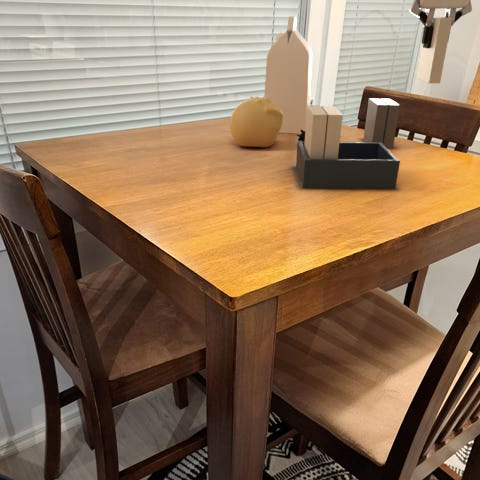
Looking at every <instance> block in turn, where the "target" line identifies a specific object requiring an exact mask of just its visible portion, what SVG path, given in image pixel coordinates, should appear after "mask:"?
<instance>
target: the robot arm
mask: <svg viewBox="0 0 480 480" xmlns="http://www.w3.org/2000/svg"><path fill="white" fill-rule="evenodd" d="M422 9H424V10H422ZM436 9H437V10H438V9H445V12H444V18H452V22H451V28H450V31H451V29H452V27H453V26H454V25H455V23H457V21H459V19H461V18H462V17H463V16H466V15H467V14H469V13H472V11H473V7H472V1H471V0H413V2H412V4H411V5H410V8H409V11H408V12H409V13H410V14H412V15H413V16H415V17H417V18H418V19H419V21H420V22H421V23H422V26H423V29H422V30H423V31H422V37H421V45H422V44H423V48H430V47H431V42H432V36H433V30H434V27H432V25H433V23H432V22H433V17H435V12H436ZM457 9H458V10H457ZM450 35H451V32H450V33H449V36H450ZM449 40H450V37H449V38H448V41H449Z"/></svg>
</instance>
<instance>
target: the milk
mask: <svg viewBox="0 0 480 480" xmlns="http://www.w3.org/2000/svg"><path fill="white" fill-rule="evenodd" d="M297 23H298V16H288V21H287V27H286V31H285V32H283V31H280V32H279V33H278V34H277V35H276V36H275V38H274V39H273V42H274V44H272V46H271V47H270V48H269V49H268V51H267V53H266V66H265V67H266V68H265V79H264V80H265V81H264V96H263V97H265V98H268V99H270V100H271V102H272V103H273V104H274V105H276V107H278V108H279V109H280V110H281V111H282V113H283V119H282V126H281V129H280V130H279V133H278V134H294V135H295V134H296V135H300V134H302V133H301V132H300V131H301V130H303V131H306V117H307V106H311V101H312V75H313V48H312V47H311V45H310V44H309V43H308V41H306V38H305V37H303V35H302V34H301V33H300V32H299V30H298V29H297Z"/></svg>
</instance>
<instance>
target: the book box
mask: <svg viewBox="0 0 480 480" xmlns="http://www.w3.org/2000/svg"><path fill="white" fill-rule="evenodd" d="M296 144H297V146H296V158H295V159H296V160H295V168H296V173H297V175H298V178H299V182H300V185H301V187H302V189H305V190H306V189H307V190H309V189H310V190H312V189H314V190H319V189H320V190H396V187H397V181H398V174H399V170H400V165H401V160H400V159H399V158H398V157H397V156H396V155H395V154H394V153H393V152H392V151H391V150H390V148H387V147H386V146H385V145H384V144H383V143H382V142H363V141H340V142H339V151H338V159H309V158H308V156H307V153H306V151H305V149H304V144H305V142H302V141H297V143H296Z"/></svg>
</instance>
